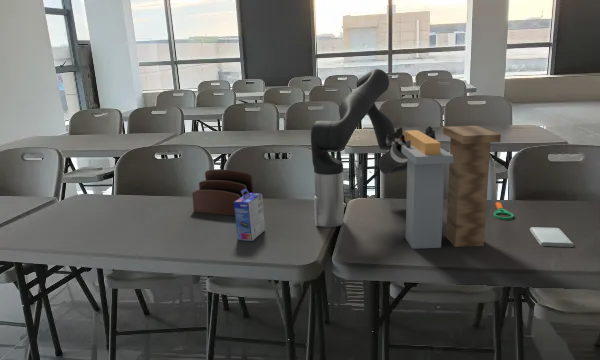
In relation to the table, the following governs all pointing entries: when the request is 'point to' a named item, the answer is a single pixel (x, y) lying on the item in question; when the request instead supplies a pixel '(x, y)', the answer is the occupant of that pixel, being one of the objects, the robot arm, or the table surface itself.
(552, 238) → the hard drive
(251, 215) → the ink cartridge box
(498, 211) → the magnifying glass
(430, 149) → the orange bar
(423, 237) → the tall gray pegged stand
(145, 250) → the table surface
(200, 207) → the letter holder
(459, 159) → the tall walnut stand
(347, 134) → the robot arm
